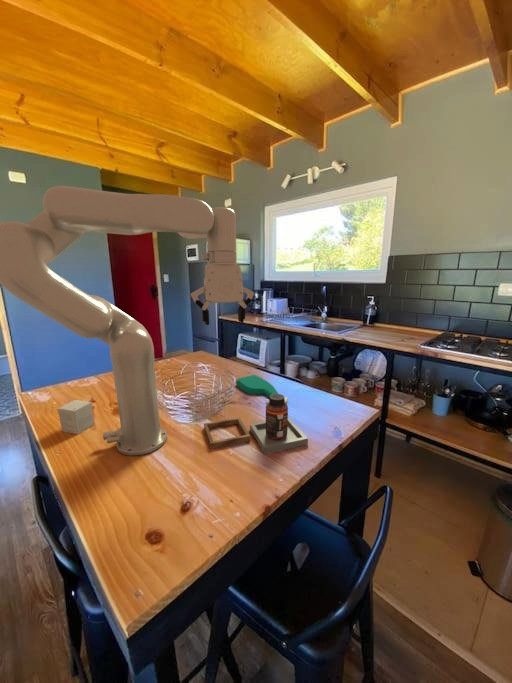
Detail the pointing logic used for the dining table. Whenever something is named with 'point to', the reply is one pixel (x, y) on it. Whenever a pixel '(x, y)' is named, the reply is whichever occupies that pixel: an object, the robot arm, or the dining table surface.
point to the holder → (230, 440)
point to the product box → (76, 416)
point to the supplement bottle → (276, 417)
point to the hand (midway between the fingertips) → (224, 323)
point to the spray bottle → (256, 386)
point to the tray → (271, 445)
